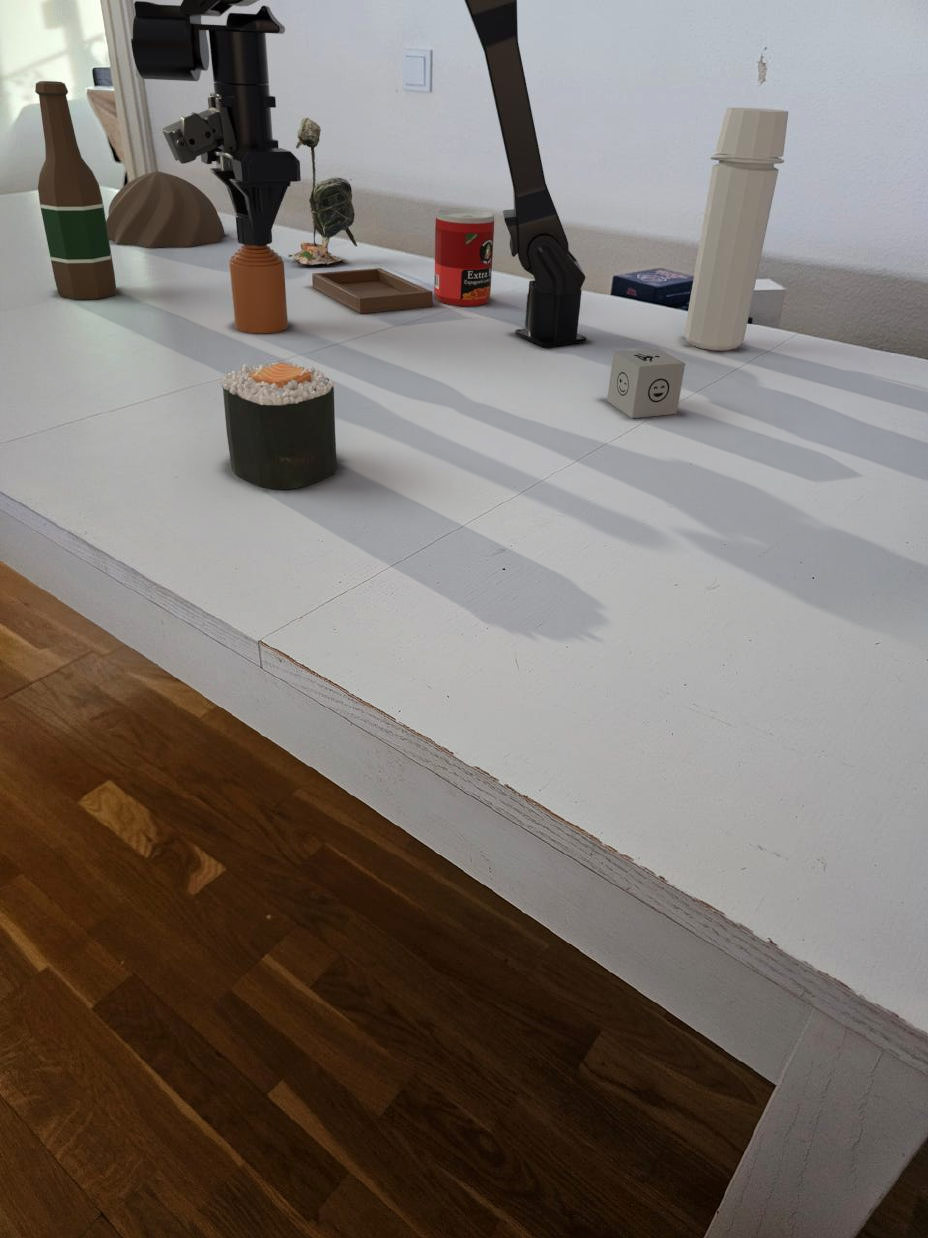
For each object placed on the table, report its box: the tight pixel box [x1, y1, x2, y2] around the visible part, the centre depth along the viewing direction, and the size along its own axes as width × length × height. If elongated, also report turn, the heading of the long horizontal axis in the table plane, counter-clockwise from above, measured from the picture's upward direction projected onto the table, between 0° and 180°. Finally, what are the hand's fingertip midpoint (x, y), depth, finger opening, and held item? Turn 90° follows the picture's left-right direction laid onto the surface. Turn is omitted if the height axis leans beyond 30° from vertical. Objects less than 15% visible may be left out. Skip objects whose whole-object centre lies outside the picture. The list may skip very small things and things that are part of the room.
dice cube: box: [606, 347, 686, 419], centre depth 88 cm, size 5×5×5 cm
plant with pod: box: [288, 117, 358, 266], centre depth 136 cm, size 8×11×20 cm
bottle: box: [228, 245, 289, 335], centre depth 105 cm, size 6×6×12 cm
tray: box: [311, 267, 433, 315], centre depth 123 cm, size 16×11×2 cm
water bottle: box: [683, 106, 789, 352], centre depth 104 cm, size 9×8×25 cm
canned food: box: [433, 208, 495, 307], centre depth 121 cm, size 8×8×11 cm
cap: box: [234, 210, 273, 246], centre depth 102 cm, size 4×4×3 cm
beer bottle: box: [34, 80, 117, 301], centre depth 112 cm, size 8×8×24 cm
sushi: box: [219, 361, 338, 490], centre depth 71 cm, size 8×8×8 cm
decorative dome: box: [106, 170, 226, 249], centre depth 151 cm, size 19×20×10 cm
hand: (254, 241), depth 103 cm, fingers open, 5 cm apart
